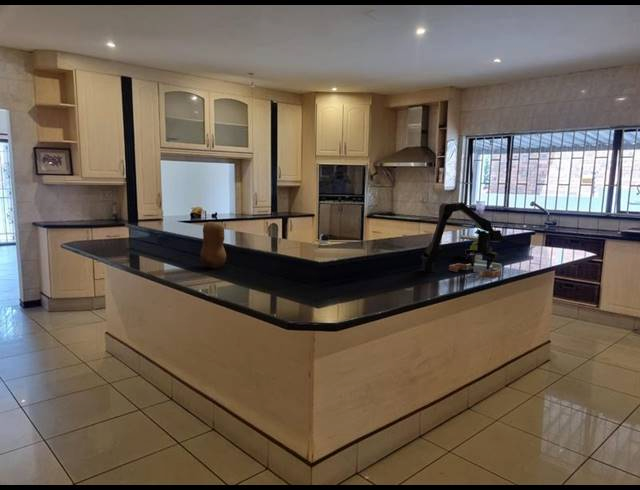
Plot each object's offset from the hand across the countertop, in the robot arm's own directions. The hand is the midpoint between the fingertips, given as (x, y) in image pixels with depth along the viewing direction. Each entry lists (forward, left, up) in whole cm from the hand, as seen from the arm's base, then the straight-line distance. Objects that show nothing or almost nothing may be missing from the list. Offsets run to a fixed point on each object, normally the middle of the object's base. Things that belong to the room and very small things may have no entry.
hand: (480, 268), depth 263 cm
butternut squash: (-147, +39, -2) cm, 152 cm away
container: (-71, +67, -2) cm, 98 cm away
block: (+2, 0, -2) cm, 3 cm away
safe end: (+8, +3, -2) cm, 9 cm away
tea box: (+24, +37, -2) cm, 44 cm away
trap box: (-2, -1, -2) cm, 3 cm away
